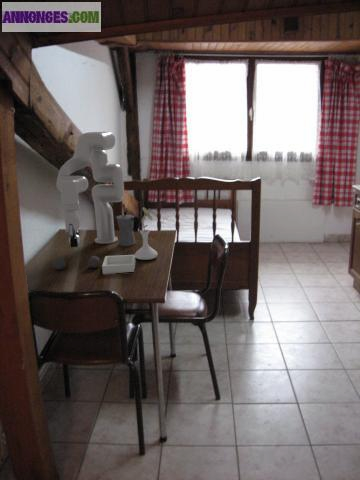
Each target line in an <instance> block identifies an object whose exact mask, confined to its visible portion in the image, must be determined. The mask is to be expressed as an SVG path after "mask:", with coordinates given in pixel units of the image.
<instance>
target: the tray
mask: <svg viewBox="0 0 360 480" xmlns="http://www.w3.org/2000/svg"><path fill="white" fill-rule="evenodd" d="M135 268H136V257H135V254H126V255H124V254H123V255H105V256H104V259H103V263H102V265H101V269H102V275H117V274H116V273H123V272H134V273H135V270H134V269H135ZM123 274H124V273H123Z"/></svg>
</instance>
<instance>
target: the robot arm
mask: <svg viewBox="0 0 360 480" xmlns="http://www.w3.org/2000/svg"><path fill="white" fill-rule="evenodd" d="M115 145H116V136H115V135H114V133H113V132H111V131H91V132H90V131H88V132H84V133H81V134H80V135H79V136H78V138H77V141H76V145H75V149H74V152H73V156H72V157H70V159H68V160H67V161H65V163H64V164H62V166H60V168H59V170H58V173H57V178H56V183H55V185H56V188H57V190H58V191H59V192H60V197H61V204H62V211H63V212H64V224H65V233H66V234H68V233H69V238H70V243H69V244H70V247H71V248H78V246H79V245H78V242H77V238H76V234H77V235H79V236H80V232H79V229H80V227H81V225H80V215H79V211H80V210H81V208H80V198H79V194H80V193H84V192H86V191H87V190H88V188H89V179H88V178H87V177H86V176H83V175H71V174H73V173H74V172H76V171H79V170H82V169H84V168H86V167H89V166H90V164H91V168H92V178H93V180H94V181H95V182H98V183H103V184H96V185H93V187H92V188H91V197H92V201H93V205H94V213H95V214H94V215H95V225H96V236H97V237H96V238H95V239H94V242H95V243H96V244H98V245H99V244H101V245H107V244H113V243H116V242H118V241H119V237H118V236H116V235H115V224H114V223H115V222H114V210H113V208H112V206H111V204H110V203H120V202H123V200H124V199H125V182H124V173H123V168H122V166H121V165H120V164H117V163H109V162H108V161H109V160H108V153H107V151H109V150H112V149H113V148H114V147H115ZM104 183H105V184H104ZM106 183H107V184H106ZM109 183H112V184H109ZM74 235H75V236H74Z"/></svg>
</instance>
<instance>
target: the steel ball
mask: <svg viewBox="0 0 360 480" xmlns="http://www.w3.org/2000/svg"><path fill="white" fill-rule="evenodd" d="M74 236H75V235H74ZM76 238H77V242H78V246H79V245H81V244H82V243H81V242H82V238H81V236H80V234H79V235H77V234H76ZM68 242H69V244H70V237H69V238H68Z"/></svg>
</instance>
